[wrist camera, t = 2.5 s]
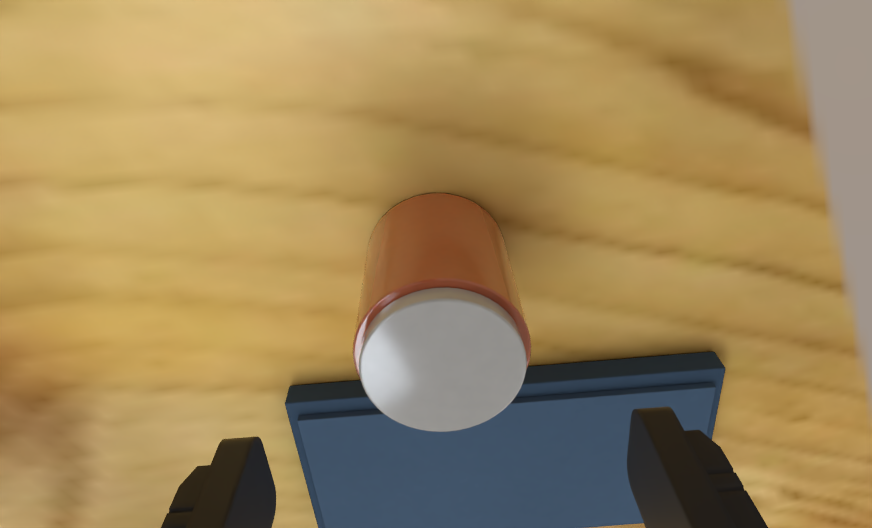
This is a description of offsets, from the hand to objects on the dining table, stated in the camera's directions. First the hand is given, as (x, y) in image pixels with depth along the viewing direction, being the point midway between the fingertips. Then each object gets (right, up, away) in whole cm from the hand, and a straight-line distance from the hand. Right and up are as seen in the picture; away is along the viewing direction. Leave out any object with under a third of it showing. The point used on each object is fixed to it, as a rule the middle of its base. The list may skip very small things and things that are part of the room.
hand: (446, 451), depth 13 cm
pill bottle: (0, +4, +7) cm, 8 cm away
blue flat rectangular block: (+3, -3, +12) cm, 12 cm away
